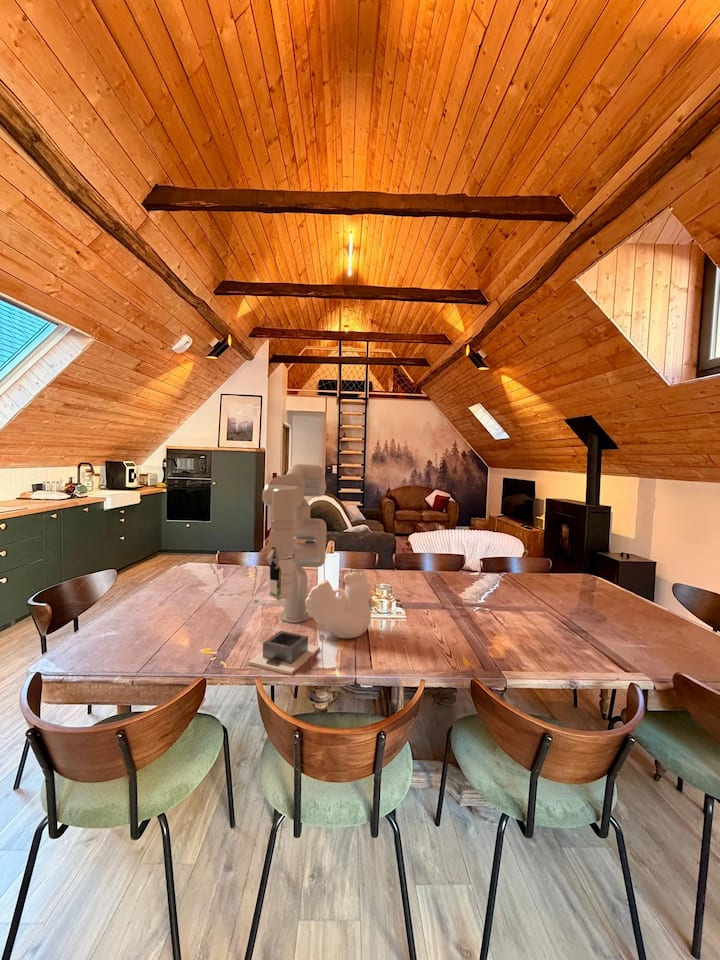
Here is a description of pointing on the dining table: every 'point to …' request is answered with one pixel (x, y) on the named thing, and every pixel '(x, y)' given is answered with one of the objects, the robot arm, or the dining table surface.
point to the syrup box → (283, 579)
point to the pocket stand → (284, 653)
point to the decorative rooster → (342, 606)
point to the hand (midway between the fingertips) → (281, 576)
